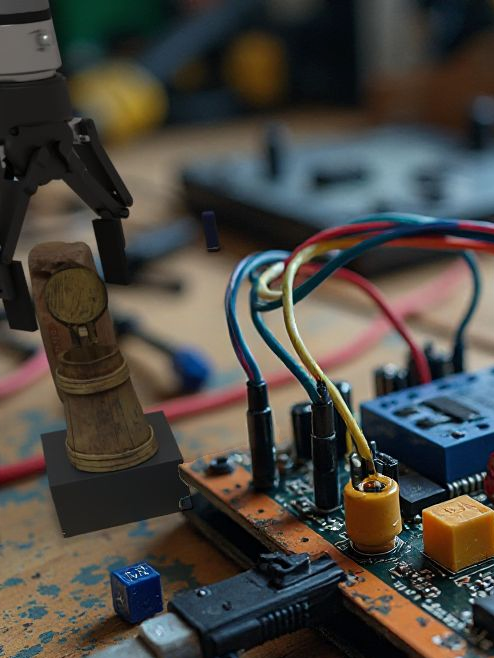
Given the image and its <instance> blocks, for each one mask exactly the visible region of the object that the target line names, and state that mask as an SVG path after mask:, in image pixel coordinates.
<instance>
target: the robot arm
mask: <svg viewBox="0 0 494 658" xmlns="http://www.w3.org/2000/svg"><path fill="white" fill-rule="evenodd" d="M52 16H53V14H52V10H51V8H50V3H49V0H0V300H1V301H2V305H3V309H4V312H5V316H6V319H7V323H8V327H9V330H15V331H21V332H29V333H35V332H37V331H40V327H39V323H38V319H37V315H36V311H35V307H34V305H33V301H32V297H31V293H30V290H29V286H28V281H27V278H26V274H25V271H24V266H23V263H22V260H16V259H14V256H15V253H16V249H17V246H18V243H19V239H20V235H21V231H22V229H23V225H24V221H25V218H26V215H27V211H28V209H29V205H30V201H31V198H32V196H35V195H36V194H37V192H38V189H39V187H43V186H46V185H48V184H49V183H51V182H52V181H61V180H62V181H63V183H65V184H66V185H67V186H68V187H69V189H70V190H72V191H73V192H74V194H75V195H77V196H78V198H79V199H81V200H82V201H83V202H84V203H85V204H86V205H87V206H88V207H89V209H91V211H93V212H94V214H96V216H98V217H100V218H98V217H97V218H96V217H95V218H94V219H91V225H92V229H93V232H94V238H95V242H96V248H97V252H98V256H99V261H100V266H101V269H102V275H103V280H104V283H105V284H110V285H119V286H125V287H126V286H129V285H131V284H132V278H131V274H130V269H129V264H128V260H127V255H126V254H127V253H126V250H125V249H126V246H127V245H126V244H127V242H126V237H125V232H124V228H123V223H122V220H128V218H129V217H130V209H129V208H131V207H133V205H134V198H133V196H132V194H131V193H130V191H129V189H128V187H127V185H126V184H125V182H124V181H123V178H122V177H121V175H120V173H119V172H118V170H117V169H116V167H115V165H114V164H113V161H112V160H111V158H110V156H109V155H108V153H107V151H106V150H105V147H104V146H103V144H102V142H101V141H100V138H99V135H98V131H97V128H96V124H95V121H94V120H93V119H92V118H91V117H90V118H88V117H75V116H74V117H73V116H72V115H73V113H74V111H73V106H72V101H71V96H70V91H69V87H68V83H67V78H66V76H64V75H63V73H61V72H58V71H56V70H58V69H59V68H60V67H62V58H61V54H60V49H59V45H58V40H57V35H56V31H55V27H54V23H53V22H54V21H53V18H52ZM73 150H74V151H73Z"/></svg>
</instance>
